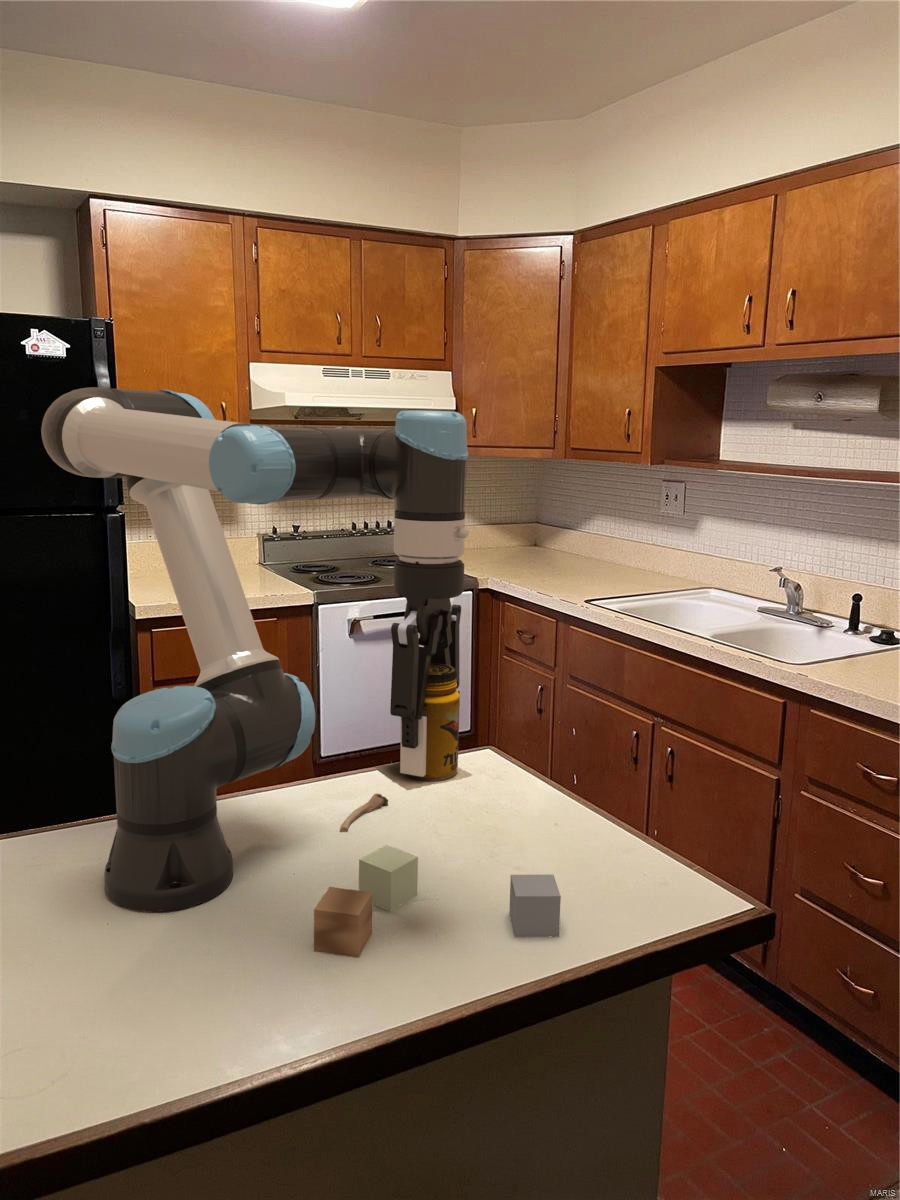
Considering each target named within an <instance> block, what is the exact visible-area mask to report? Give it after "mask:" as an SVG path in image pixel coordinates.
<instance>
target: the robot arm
mask: <svg viewBox="0 0 900 1200" xmlns="http://www.w3.org/2000/svg"><path fill="white" fill-rule="evenodd" d="M466 420H467V419H466V418H465V417H464V415H462V414H461V413H459V412H458V411H457V412H456V411H448V410H447V411H445V410H444V411H443V410H401V411H399V412H398V413H397V414H396V417H395V425H394V428H392V429H380V428H379V429H377V428H376V429H375V428H357V427H356V428H355V427H350V426H347V427H341V426H338V427H296V426H295V427H293V426H292V427H291V426H275V425H265V424H264V425H263V424H256V423H245V422H239V421H238V422H236V421H230V420H229V421H228V420H219V419H216V418H215V417H214V414H212V411H211V410H210V409H209V408H208V406H207V405H206V404H205V403H204V402H203V401H201V400H200V399H199V398H198V397H195V396H193V395H191V394H188V393H184V392H183V393H182V392H176V391H173V390H170V389H157V390H141V389H130V388H129V389H128V388H126V389H125V388H109V387H98V386H97V387H96V386H95V387H93V386H91V387H84V388H83V387H82V388H78V389H77V388H76V389H73V390H71V391H69V392H67V393H66V392H65V393H64V394H62V395H60V396H59V397H58V398H56V399H55V400H54V401H53V402H52V403H51V405H50V406H48V408H47V410H46V411H45V413H44V416H43V419H42V422H41V428H40V430H41V431H40V432H41V439H42V444H43V446H44V449H45V450H46V453H47V454H48V456H49V457H50V458H51V460H52V461H53V462H54V463H55V464H56V465H57V466H59V467H60V468H62V469H63V470H65V471H67V472H69V473H71V474H73V475H76V476H81V477H88V478H97V479H99V478H100V479H101V478H102V479H109V478H110V479H112V478H113V479H124V481H125V484H126V487H127V491H128V493H129V496H130V498H131V500H133V501H135V502H138V503H139V504H141V505H144V506H145V507H146V511H147V513H148V517H149V518H150V522H151V525H152V529H153V531H154V534H155V538H156V541H157V543H158V547H159V548H160V553H161V555H162V559H163V562H164V565H165V567H166V570H167V573H168V576H169V579H170V582H171V585H172V588H173V591H174V594H175V597H176V600H177V603H178V607H179V610H180V612H181V615H182V619H183V621H184V623H185V627H186V630H187V633H188V637H189V639H190V642H191V645H192V648H193V651H194V654H195V658H196V660H197V663H198V666H199V669H200V673H199V676H198V677H197V679H196V682H194V684H193V685H176V686H174V687H171V688H168V687H163V688H158V689H154V690H150V691H147V692H144V693H142V694H139V695H137V696H135V697H133V698H131V699H129V700H128V701H126V702H125V703H124V704H123V705H121V707H120V708H119V709H118V711H117V712H116V714H115V716H114V718H113V721H112V722H113V725H112V739H111V740H112V742H111V747H110V749H111V753H112V755H113V768H114V770H113V771H114V789H115V791H114V792H115V805H116V806H115V808H116V830H115V834H114V838H113V841H112V845H111V848H110V851H109V855H108V858H107V859H108V860H107V863H106V865H105V868H104V872H103V873H104V874H103V878H104V882H103V883H104V893H105V896H106V897H107V899H108V900H109V901H110V902H111V903H113V904H115V905H117V906H118V907H120V908H124V909H127V910H132V911H137V912H150V913H151V912H155V913H157V912H169V911H170V912H171V911H175V910H181V909H182V910H183V909H185V908H189V907H193V906H196V905H199V904H202V903H203V902H206V901H209V900H211V899H213V898H215V897H217V896H218V895H219V894H221V893H222V892H223V891H225V890H226V889H227V888H228V886H229V885H230V884H231V883H232V880H233V877H234V862H233V861H234V860H233V854H232V851H231V849H230V848H229V847H228V845H227V843H226V839H225V836H224V832H223V830H222V827H221V825H220V822H219V819H218V808H217V807H218V806H217V804H218V803H217V798H218V797H217V789H218V788H220V787H223V786H226V785H229V784H232V783H235V782H237V781H239V780H242V779H245V778H249V777H251V776H254V775H256V774H260V773H263V772H265V771H268V770H274V769H277V768H278V767H282V766H283V765H285V764H286V763H288V762H290V761H292V760H294V759H295V760H296V759H297V758H298V757H299V756H301V755H302V754H304V752H305V751H306V749H308V747H309V745H310V744H311V740H312V735H313V734H314V731H315V726H316V710H315V703H314V700H313V696H312V694H311V692H310V690H309V688H308V686H307V685H306V684H305V682H303V681H300V678H299V677H298V676H296V675H295V674H294V675H293V674H291V673H287V672H284V669H283V666H282V664H281V661H280V658H279V657H278V656H276V655H273V654H271V653H270V652H267V651H266V650H265V649H264V647H263V644H262V641H261V638H260V636H259V632H258V630H257V627H256V624H255V620H254V617H253V615H252V612H251V609H250V607H249V603H248V600H247V598H246V597H247V596H246V593H245V592H244V589H243V585H242V583H241V580H240V577H239V574H238V571H237V568H236V566H235V563H234V559H233V557H232V554H231V553H232V552H231V551H230V547H229V545H228V541H227V539H226V536H225V533H224V531H223V528H222V524H221V521H220V518H219V515H218V513H217V510H216V507H215V503H214V501H213V498H212V495H211V493H210V491H215V492H219V493H221V494H222V495H223V497H224V499H225V500H228V501H229V502H232V503H237V504H250V505H268V504H270V503H278V502H279V503H280V502H290V501H292V502H293V501H305V500H309V501H311V500H329V499H330V500H331V499H348V498H374V499H386V500H387V499H388V500H394V527H393V528H394V531H393V553H394V554H395V555H396V556H398V557H399V558H397V559H396V560H395V561H394V563H393V591H394V592H395V593H396V595H398V596H400V597H403V598H405V600H406V605H405V611H404V615H403V617H404V619H403V621H402V622H400V623H399V622H393V623H392V624H391V628H390V634H391V639H392V658H391V661H392V663H391V665H392V666H391V688H390V707H389V708H390V710H389V713H390V715H391V716H394V717H400V759H399V760H400V761H399V762H400V773H404V774H410V775H415V776H421V777H423V776H425V775H426V735H427V717H425V716H423V709H424V702H425V695H426V688H427V681H428V674H429V667H430V663H436V664H438V663H439V664H445V665H449V666H452V667H454V668H455V669H456V671H457V678H456V683H457V687H456V690H457V691H458V693H459V695H460V693H461V691H460V690H458V689H459V687H460V683H461V682H460V624H461V617H462V616H461V614H462V605H460V604H452V602H451V599H454V598H458V597H459V596H461V595H462V594H463V593H464V588H465V587H464V586H465V583H464V582H465V563H463V560H462V559H459V558H460V557H462V556H463V555H464V554H465V539H467V538H468V536H469V531H468V529H467V528H466V527H465V526H466V510H465V506H466V504H465V501H466V487H467V486H466V485H467V473H468V459H469V450H468V439H467V438H468V436H467V435H468V434H467V432H468V431H467V430H468V429H467V421H466ZM460 696H461V695H460Z"/></svg>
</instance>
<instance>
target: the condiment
mask: <svg viewBox="0 0 900 1200" xmlns="http://www.w3.org/2000/svg"><path fill="white" fill-rule="evenodd" d="M456 678H457V671H456V669H455V668H454V667H452V666H449V665H445V664H439V663H438V664H436V663H430V667H429V674H428V681H427V688H426V695H425V702H424V709H423V716H425V717H427V735H426V775H425V776H423V777H421V776H415V775H410V774H404V773H400V761H399V762H395V763H390V764H381V765H378V766H374V768H375V769H376V770H377V771H378V772H379V773H380V774H382V775H384V777H386V778H387V779H389V780H391V782H392V783H394V784H396V785H398V786H399V787H401V788H403V789H404V790H406V791H410V790H414V789H420V788H423V787H428V786H432V785H436V784H437V785H439V784H444V783H449V782H454V781H458V780H462V779H466V778H471V777H473V774H472V773H470V772H469V771H466V770H464V769H462V768H460V767H458V765H459V764H458V763H459V742H460V740H459V739H460V737H459V735H460V734H459V730H460V706H461V705H460V703H461V700H460V697H461V695H459V693H458V691H459V690H458V689H456V687H457V683H456Z"/></svg>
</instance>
